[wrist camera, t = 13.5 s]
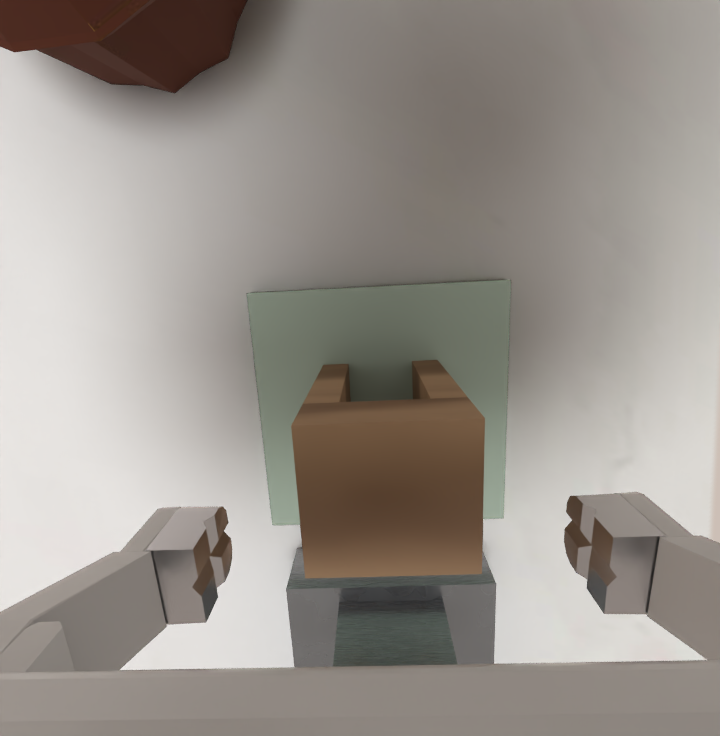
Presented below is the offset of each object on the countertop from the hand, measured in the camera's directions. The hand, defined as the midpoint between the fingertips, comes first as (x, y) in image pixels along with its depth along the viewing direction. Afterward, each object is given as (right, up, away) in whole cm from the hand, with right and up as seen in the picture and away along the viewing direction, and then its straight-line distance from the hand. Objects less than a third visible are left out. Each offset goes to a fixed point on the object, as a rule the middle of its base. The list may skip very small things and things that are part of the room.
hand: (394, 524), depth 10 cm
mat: (0, +2, +11) cm, 11 cm away
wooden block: (0, +2, +10) cm, 10 cm away
